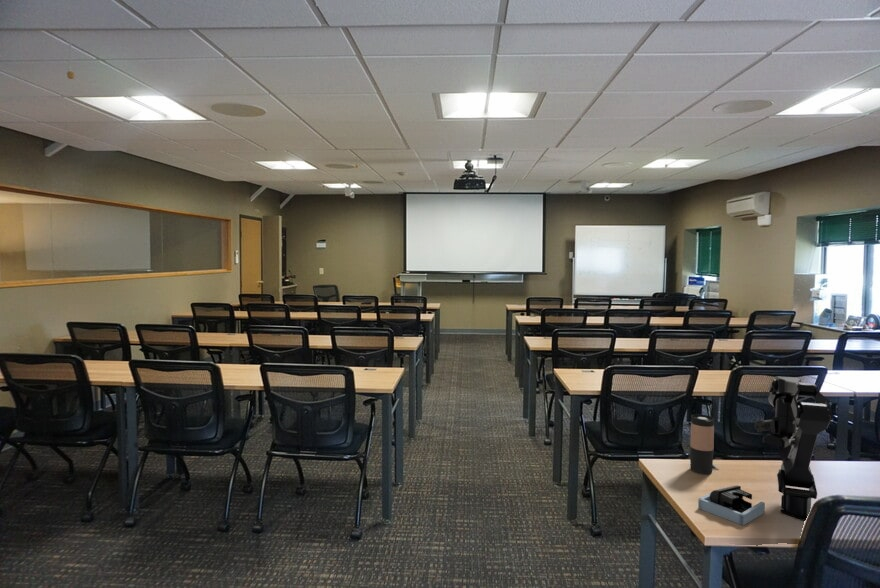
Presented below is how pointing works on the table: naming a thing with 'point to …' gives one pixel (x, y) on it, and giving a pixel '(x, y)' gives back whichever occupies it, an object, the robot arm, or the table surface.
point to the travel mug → (701, 443)
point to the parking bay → (729, 513)
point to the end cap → (731, 498)
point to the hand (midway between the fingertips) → (784, 461)
